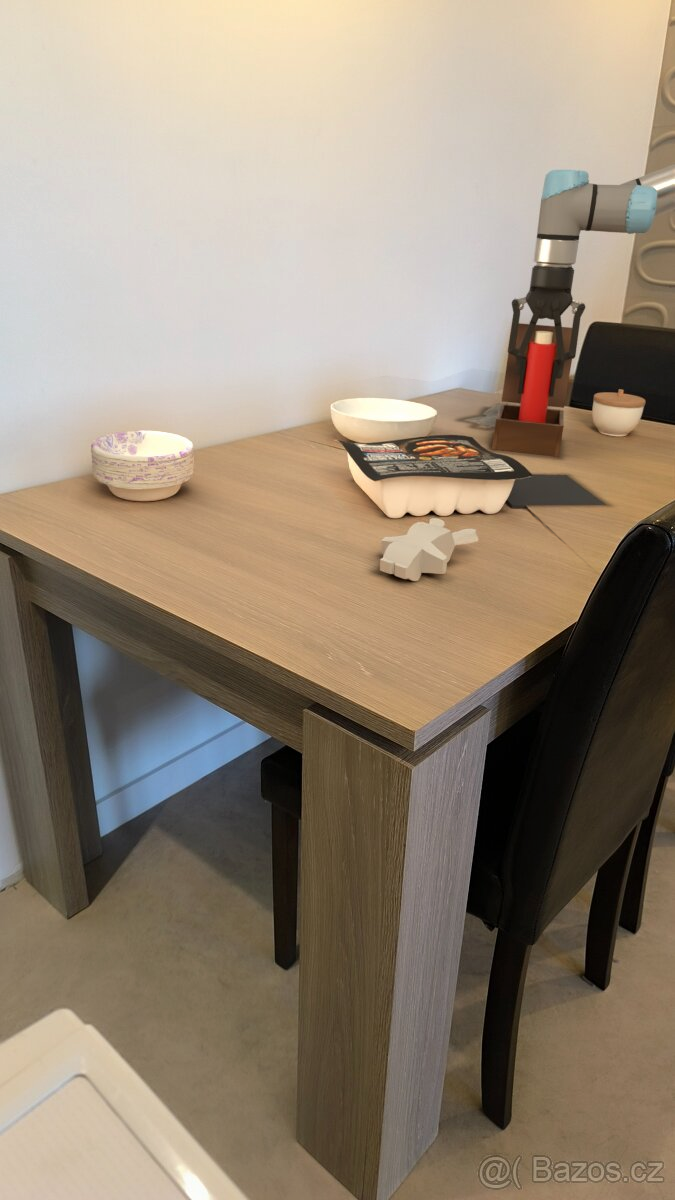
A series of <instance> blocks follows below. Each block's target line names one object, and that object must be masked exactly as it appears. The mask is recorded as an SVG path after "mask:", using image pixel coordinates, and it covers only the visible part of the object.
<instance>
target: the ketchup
mask: <svg viewBox="0 0 675 1200" xmlns="http://www.w3.org/2000/svg"><path fill="white" fill-rule="evenodd" d="M552 336H553V332H549V331H536V333H535V340H534V341H530V342H529V345H528V352H527V360H526V367H525V375H524V382H523V389H522V397H521V403H519V404H520V405H519V406H520V412H519V419H518V420H521V421H530V422H540V423H545V420H546V414H547V408H549V406H548V400H549V393H550V386H551V380H552V373H553V366H554V360H555V353H556V346H557V344H556V343H552Z"/></svg>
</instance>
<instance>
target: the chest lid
mask: <svg viewBox="0 0 675 1200" xmlns="http://www.w3.org/2000/svg"><path fill="white" fill-rule="evenodd" d="M528 326H529V323H520V322H519V325H518V332H517V338H516V345H515V348H517V349H519V348H520V345H521V343H522V340H523V338H524V335H525V333H526V331H527V328H528ZM536 331H549V332H553V336H552V343H556V344H557V341H556V333H555V325H545V324H544V325H543V324H536V326H535V328H534V331H533V333H532V336H531V338H530V340H529V342H530V341H534V340H535V333H536ZM562 333H563V342H564V351H565V353H566V352H569V348H570V341H571V333H572V327H568V326H562ZM528 345H529V343H528ZM528 345H527V348H526V350H525V353H524V355H523V357H527V352H528ZM555 360H558V350H557V346H556V353H555ZM572 362H573V359H569V360H566V361H565V363H564V369H563V375H562V378H561V379H558V378H556V381H555V387H554V394H553V397H550V396H549V400H548V407H551V408H552V407H553V408H562V409H563V408H565V405H566V399H567V393H568V387H569V380H570V374H571V369H572ZM515 366H516V357H515V356H514V355H512V354H509V353H508V352H507V359H506V367H505V372H504V380H503V387H502V394H501V402H502V403H513V404H521V397H522V394H518V389H519V381H520V375H515Z"/></svg>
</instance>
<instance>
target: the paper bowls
mask: <svg viewBox="0 0 675 1200" xmlns="http://www.w3.org/2000/svg"><path fill="white" fill-rule="evenodd" d="M90 447H91V448H90V452H91V465H92V476H93V477H94V479H95V480H96V481H98V482H99V483H101V484H104V485H106V486H107V488H108V489H109V491H110V492H111V493H112V494H113V495H114V496H115V497H117V498H120V499H122V500H126V501H132V502H156V501H162V500H165V499H168V498H171V497H173V496H175V495H176V494H177V493H178V492H179V490H180V489H181V487H182V484H183V483H185V482H187V481H189V480H191V479H192V478H193V477H194V474H195V453H194V449H195V446H194V444H193V442H192V441H191V440H190V439H188V438H186V437H184V436H182V435H179V434H175V433H171V432H165V431H156V430H127V431H119V432H114V433H113V432H112V433H109V434H104V435H101V436H99V437H97V438H95V439H94V440H93V441H92V442H91V446H90Z"/></svg>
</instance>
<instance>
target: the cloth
mask: <svg viewBox="0 0 675 1200" xmlns="http://www.w3.org/2000/svg"><path fill="white" fill-rule="evenodd" d="M501 404H502V403H496V404H495V405H493V406H492V407H489V408H488V409H486V410H485V411H484V412H483V413H482V414H483V415H482V416H477V417H472V418H467V419H465V421H477V422H476V424H479V425H483V426H486V427H485V428H486V429H495V423H496V418H497V415H498V412H499V409H500V406H501ZM506 404H509V402H506Z"/></svg>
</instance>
